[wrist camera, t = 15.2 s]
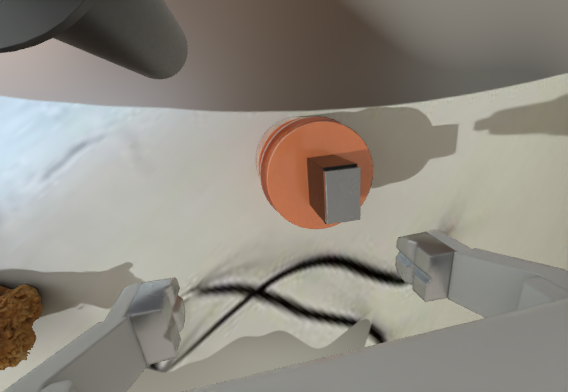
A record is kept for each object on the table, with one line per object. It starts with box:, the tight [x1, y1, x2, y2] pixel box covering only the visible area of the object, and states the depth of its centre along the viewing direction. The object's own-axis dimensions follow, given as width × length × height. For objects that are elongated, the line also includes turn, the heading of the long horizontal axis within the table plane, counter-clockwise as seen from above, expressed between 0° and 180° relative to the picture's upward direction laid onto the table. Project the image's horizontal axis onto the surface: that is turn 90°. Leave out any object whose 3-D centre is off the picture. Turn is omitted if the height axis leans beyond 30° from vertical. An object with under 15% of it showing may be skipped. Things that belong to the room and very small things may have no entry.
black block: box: [307, 155, 361, 224], centre depth 24 cm, size 5×3×6 cm, turn 5°
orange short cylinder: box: [256, 117, 373, 229], centre depth 32 cm, size 12×12×12 cm
